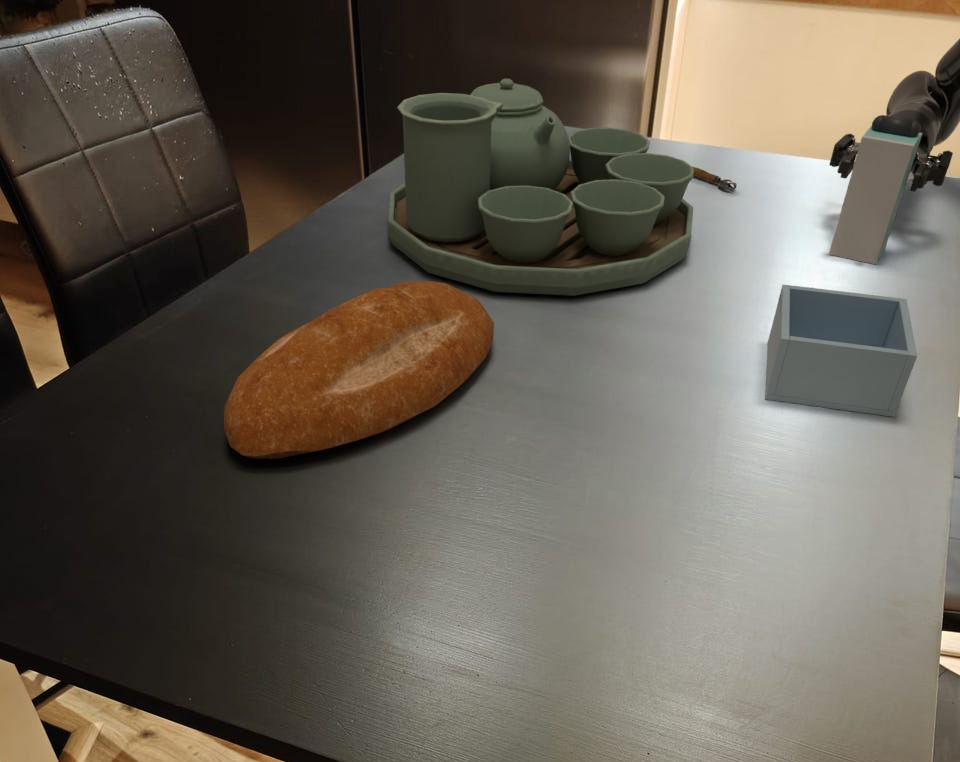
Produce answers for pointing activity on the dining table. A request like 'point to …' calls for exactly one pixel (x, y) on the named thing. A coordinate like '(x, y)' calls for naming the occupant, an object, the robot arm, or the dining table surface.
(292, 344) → the bread
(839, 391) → the basket
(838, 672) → the dining table surface
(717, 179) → the can opener
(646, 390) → the dining table surface
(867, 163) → the knobbed tall block
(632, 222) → the tea set
